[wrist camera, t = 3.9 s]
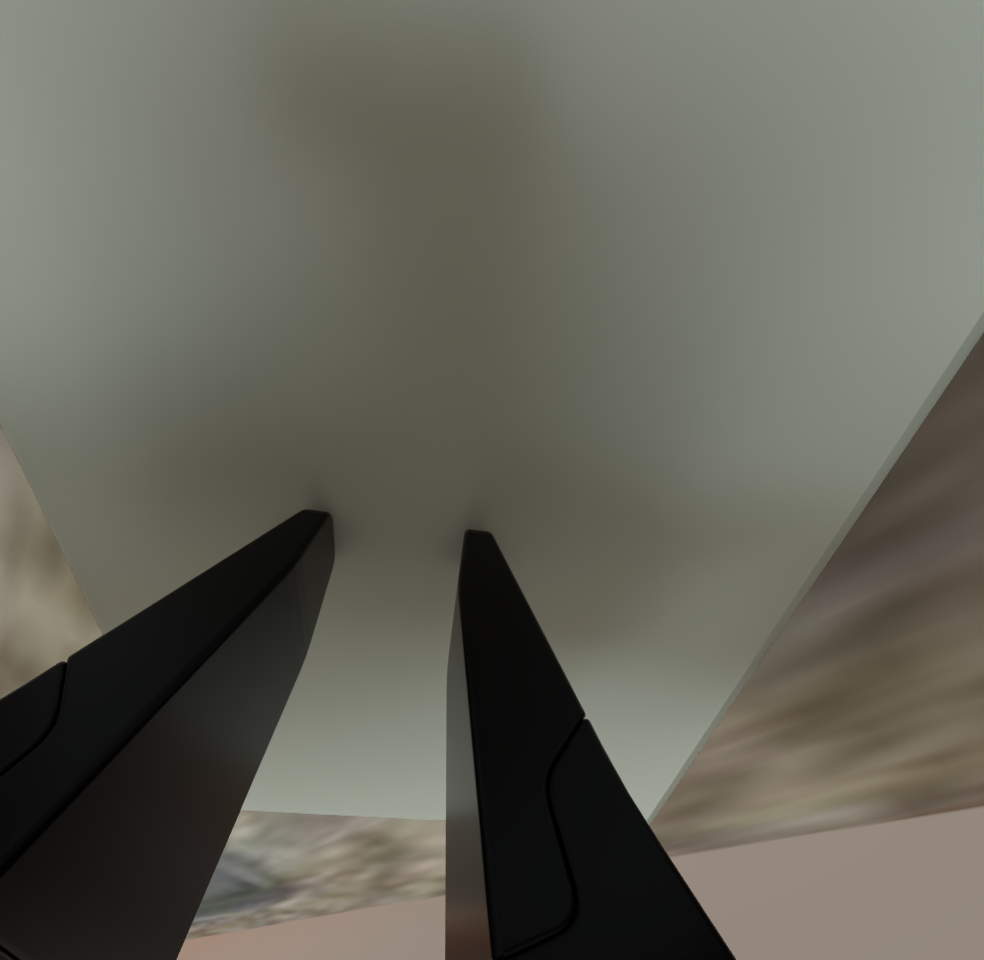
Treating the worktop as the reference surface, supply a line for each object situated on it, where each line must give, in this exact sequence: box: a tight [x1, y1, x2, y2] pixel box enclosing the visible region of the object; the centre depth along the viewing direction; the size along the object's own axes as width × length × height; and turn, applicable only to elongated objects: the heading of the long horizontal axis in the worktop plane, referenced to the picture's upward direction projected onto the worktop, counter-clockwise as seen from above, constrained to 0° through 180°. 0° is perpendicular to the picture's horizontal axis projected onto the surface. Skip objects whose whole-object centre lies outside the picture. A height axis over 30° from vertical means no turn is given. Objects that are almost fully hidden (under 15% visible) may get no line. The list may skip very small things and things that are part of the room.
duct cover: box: [0, 0, 984, 826], centre depth 8 cm, size 12×20×1 cm, turn 173°
